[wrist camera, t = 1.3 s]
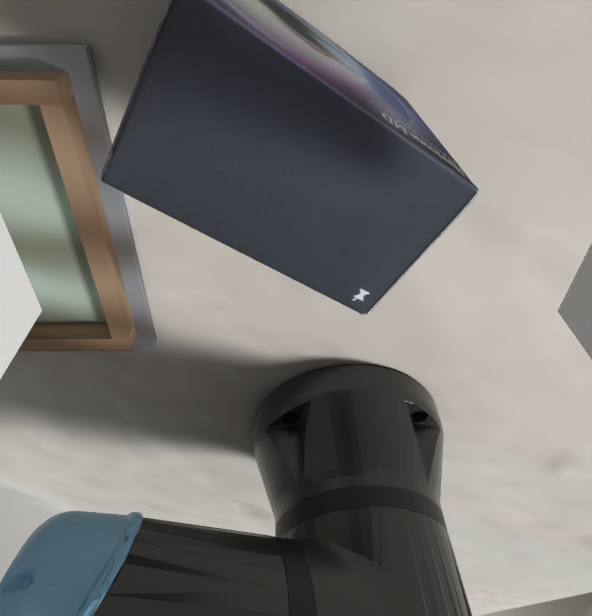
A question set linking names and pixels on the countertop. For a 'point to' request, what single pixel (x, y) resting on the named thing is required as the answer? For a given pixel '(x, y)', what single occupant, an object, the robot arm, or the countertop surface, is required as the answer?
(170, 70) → the small box
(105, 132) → the wooden picture frame
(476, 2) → the countertop surface
